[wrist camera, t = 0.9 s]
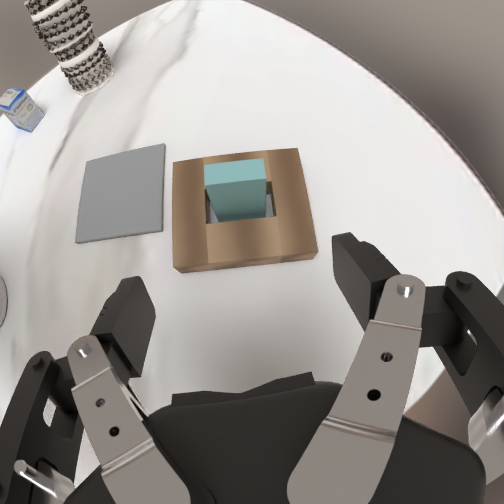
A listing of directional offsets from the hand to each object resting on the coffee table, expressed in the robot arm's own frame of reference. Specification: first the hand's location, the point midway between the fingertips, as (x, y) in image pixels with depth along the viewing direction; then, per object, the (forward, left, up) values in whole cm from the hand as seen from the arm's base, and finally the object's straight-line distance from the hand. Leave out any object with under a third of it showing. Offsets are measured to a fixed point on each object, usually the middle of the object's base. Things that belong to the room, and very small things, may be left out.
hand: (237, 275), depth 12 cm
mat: (-15, +15, -18) cm, 28 cm away
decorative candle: (-25, +42, -18) cm, 53 cm away
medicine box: (-40, +37, -18) cm, 58 cm away
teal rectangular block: (0, +10, -18) cm, 21 cm away
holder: (0, +10, -18) cm, 21 cm away
